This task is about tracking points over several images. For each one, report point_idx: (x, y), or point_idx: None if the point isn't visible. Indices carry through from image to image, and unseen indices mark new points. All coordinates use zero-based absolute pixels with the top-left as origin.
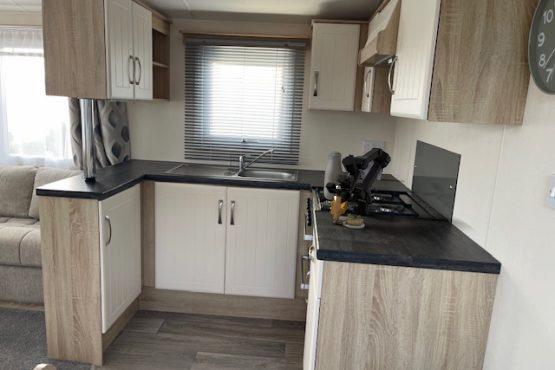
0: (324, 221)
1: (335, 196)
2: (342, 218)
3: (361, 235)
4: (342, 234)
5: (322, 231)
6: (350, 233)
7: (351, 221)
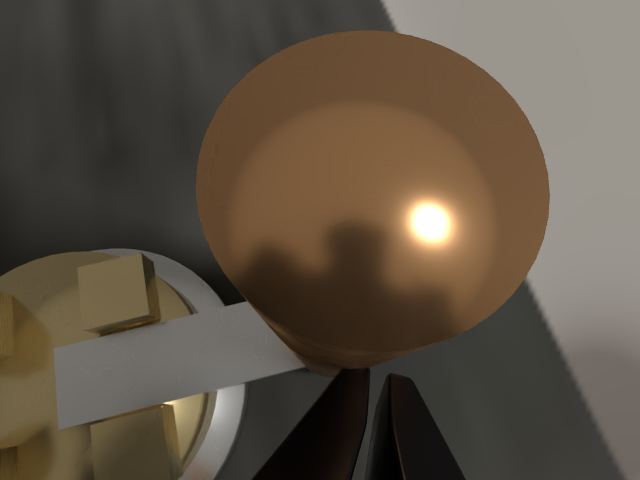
0: (487, 351)
1: (471, 90)
2: (236, 308)
3: (8, 92)
4: (182, 31)
5: (365, 15)
6: (115, 93)
7: (97, 254)
